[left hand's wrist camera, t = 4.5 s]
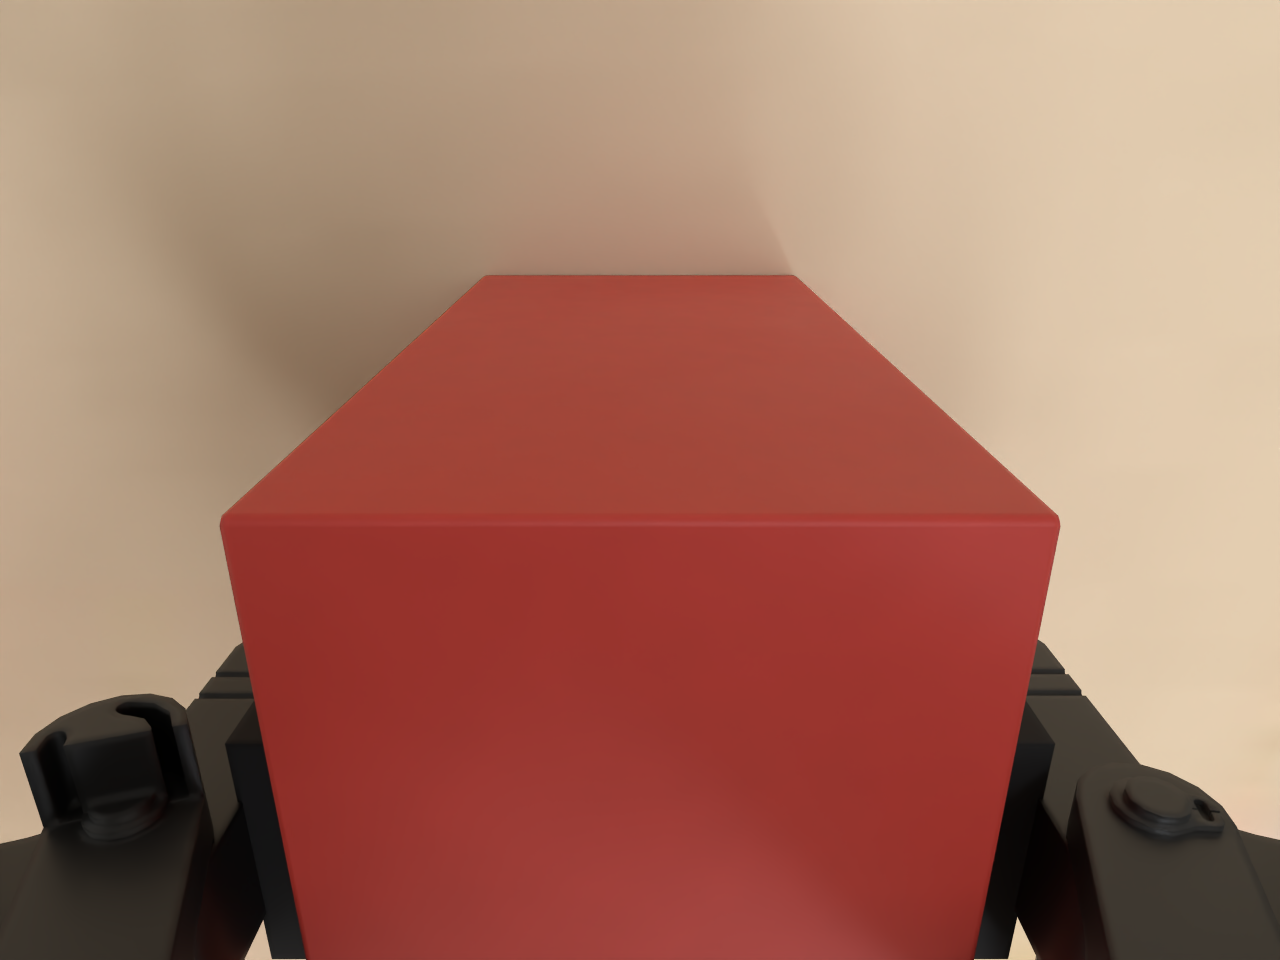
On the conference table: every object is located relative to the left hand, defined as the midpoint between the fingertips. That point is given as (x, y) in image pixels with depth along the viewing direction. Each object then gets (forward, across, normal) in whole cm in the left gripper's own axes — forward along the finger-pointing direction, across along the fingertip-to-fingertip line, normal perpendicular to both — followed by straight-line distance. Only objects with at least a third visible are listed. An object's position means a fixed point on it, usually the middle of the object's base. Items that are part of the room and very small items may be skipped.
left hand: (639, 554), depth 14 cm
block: (+2, 0, 0) cm, 2 cm away
